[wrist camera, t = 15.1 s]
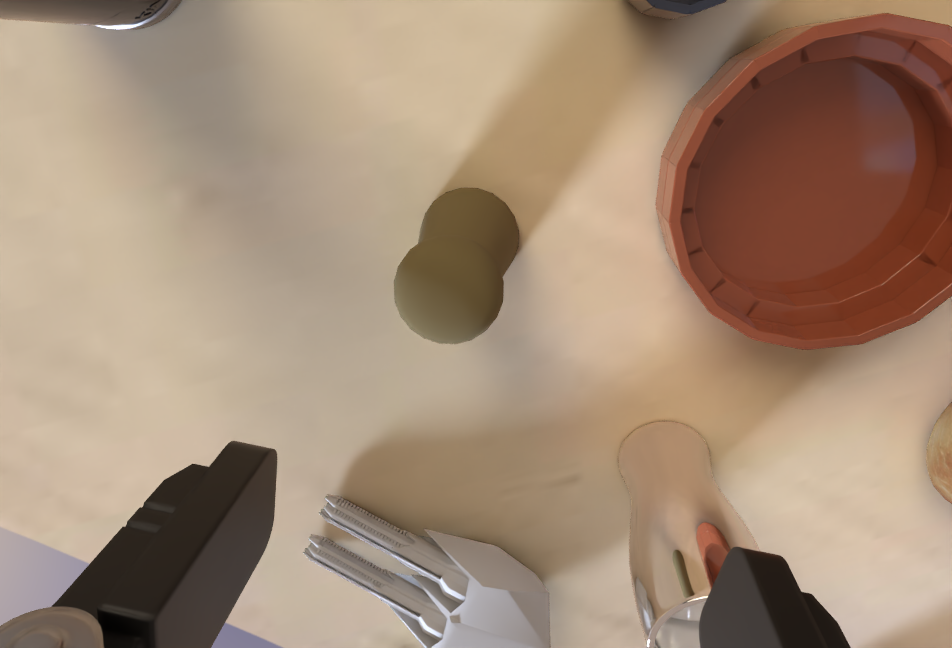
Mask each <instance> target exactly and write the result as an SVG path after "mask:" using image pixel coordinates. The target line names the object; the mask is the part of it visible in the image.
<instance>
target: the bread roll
mask: <svg viewBox="0 0 952 648" xmlns="http://www.w3.org/2000/svg"><path fill="white" fill-rule="evenodd" d="M926 462H927V469H928V473H929V476H930V479H931V481H932V483H933V485H934V487H935V488H936V489H937V490H938V492H939V493H940V494H941V495H942V496H943V497H944V498H945V499H946V500H947V501H949V502H950V503H952V402H951V403H950V404H949V406H948V407H947V408H946V409H945V411H944V412H943V413H942V414H941V416H940V417H939V419H938V420H937V422H936V424H935V425H934V428H933V431H932V434H931V436H930V439H929V442H928V446H927V460H926Z"/></svg>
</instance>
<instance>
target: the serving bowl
mask: <svg viewBox="0 0 952 648" xmlns="http://www.w3.org/2000/svg"><path fill="white" fill-rule="evenodd" d="M656 210H657V214H658V218H659V222H660V226H661V230H662V234H663V238H664V242H665V246H666V250H667V252H668V254H669V256H670V257H671V259H672V261H673V262H674V264H675V265H676V267H677V268H678V270H679V272H680V273H681V275H682V276H683V277H684V279H685V280H686V281H687V283H688V284H689V286H690V287H691V288H692V290H693V291H694V292H695V294H696V295H697V296H698V298H699V299H700V300H701V302H702V303H703V305H704V306H705V307H706V309H707V310H708V311H709V312H710V313H711V314H712V315H713V316H715V317H717V318H718V319H720V320H722V321H723V322H725V323H727V324H728V325H730V326H731V327H733V328H735V329H736V330H738V331H740V332H741V333H743V334H744V335H746V336H748V337H749V338H751V339H754V340H758V341H763V342H768V343H773V344H777V345H782V346H787V347H792V348H797V349H802V350H810V349H819V348H829V347H839V346H849V345H858V344H863V343H866V342H868V341H871V340H873V339H876V338H878V337H881V336H883V335H886V334H888V333H891V332H893V331H896V330H898V329H901V328H903V327H906V326H909V325H911V324H914V323H916V322H917V321H919V320H920V319H922V318H923V317H924V316H926V315H927V314H928V313H930V312H931V311H932V310H934V309H935V308H936V307H938V306H939V305H940V304H942V303H943V302H944V301H946V300H947V299H948V298H950V297H951V296H952V27H951V26H949V25H945V24H940V23H935V22H930V21H925V20H919V19H914V18H909V17H904V16H899V15H894V14H889V13H881V14H873V15H865V16H857V17H848V18H841V19H836V20H830V21H824V22H819V23H813V24H808V25H802V26H796V27H791V28H786V29H783V30H781V31H779V32H777V33H775V34H774V35H772V36H770V37H768V38H766V39H765V40H763V41H761V42H759V43H757V44H755V45H754V46H752V47H750V48H748V49H746V50H745V51H743V52H741V53H739V54H737V55H736V56H734V57H732V58H730V59H729V60H728V61H727V62H726V63H725V64H724V65H723V66H722V67H721V68H720V69H719V70H718V71H717V72H716V73H715V74H714V75H713V76H712V77H711V79H710V80H709V81H708V82H707V83H706V84H705V85H704V86H703V87H702V88H701V89H700V90H699V91H698V92H697V93H696V94H695V95H694V96H693V97H692V98H691V99H690V100H689V102H688V103H687V105H686V106H685V108H684V110H683V112H682V114H681V116H680V118H679V120H678V122H677V124H676V127H675V129H674V131H673V133H672V135H671V137H670V139H669V141H668V143H667V145H666V147H665V149H664V151H663V155H662V156H661V165H660V173H659V181H658V189H657V197H656Z"/></svg>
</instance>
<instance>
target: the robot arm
mask: <svg viewBox="0 0 952 648" xmlns="http://www.w3.org/2000/svg"><path fill="white" fill-rule="evenodd" d="M181 1H182V0H0V19H5V20H20V21H35V22H51V23H66V24H79V25H96V26H99V27H104V28H110V29H125V30H132V29H141V28H145V27H149V26H152V25H154V24H156V23H158V22H160V21H162V20H163V19H165V18H166V17H167V16H169V15H170V14H171V13H172V12H173V11H174V10H175V9H176V8H177V6H178V5H179V4H180V3H181ZM276 474H277V452H276V450H275V449H271V448H266V447H261V446H256V445H251V444H247V443H242V442H237V441H231V442H230V443H228V444H227V446H226V447H225V448H224V449H223V450H222V452H221V453H220V454H219V455H218V457H217V458H216V459H215V460H214V462H213V463H212V464H211V465H210V467H206V466H201V465H197V464H191V465H190V466H188V467H186V468H185V469H183V470H181V471H179V472H178V473H176V474H174V475H172V476H171V477H169V478H167V479H165V480H164V481H163V482H162V483H161V484H160V485H159V487H158V488H157V489H156V490H155V491H154V492H153V493H152V494H151V496H150V497H149V498H148V499H147V500H146V501H145V502H144V505H143V507H142V508H139V509H138V510H137V511H136V512H135V514H134V515H133V516H132V517H131V518H130V519H129V520H128V522H127V525H126V527H122V528H121V529H120V531H119V532H118V533H117V534H116V535H115V536H114V537H113V538H112V540H111V541H110V542H109V543H108V544H107V545H106V546H105V548H104V549H103V550H102V551H101V552H100V553H99V554H98V555H97V557H96V558H95V559H94V560H93V561H92V562H91V563H90V564H89V566H88V567H87V568H86V569H85V570H84V571H83V572H82V573H81V575H80V576H79V577H78V578H77V579H76V580H75V581H74V583H73V584H72V585H71V586H70V587H69V588H68V589H67V590H66V592H65V593H64V594H63V595H62V596H61V597H60V598H59V600H58V601H57V602H56V603H55V604H54V605H53V606H52V607H49V608H43V609H38V610H35V611H31V612H28V613H25V614H23V615H20V616H18V617H16V618H13V619H12V620H10V621H8V622H6V623H4V624H3V625H1V626H0V648H211V647H212V645H213V643H214V641H215V639H216V637H217V636H218V634H219V632H220V630H221V629H222V627H223V625H224V623H225V621H226V620H227V618H228V616H229V614H230V612H231V611H232V609H233V607H234V605H235V603H236V602H237V600H238V598H239V596H240V594H241V593H242V591H243V589H244V587H245V585H246V584H247V582H248V580H249V578H250V576H251V575H252V573H253V571H254V569H255V567H256V566H257V564H258V562H259V560H260V558H261V557H262V555H263V553H264V551H265V549H266V546H267V544H268V541H269V538H270V534H271V531H272V527H273V521H274V510H275V492H276ZM699 641H700V647H701V648H850V646H849V644H848V642H847V640H846V638H845V636H844V634H843V632H842V630H841V628H840V627H839V625H838V623H837V622H836V621H835V619H834V618H833V617H832V616H831V615H830V614H829V613H828V612H827V611H826V609H825V608H824V607H823V606H822V605H821V604H820V603H819V602H818V601H817V600H816V598H815V597H814V596H813V595H812V594H809V593H804V592H801V591H800V588H799V586H798V584H797V582H796V580H795V578H794V576H793V574H792V572H791V570H790V568H789V566H788V564H787V562H786V561H785V559H784V558H783V557H781V556H779V555H775V554H770V553H766V552H761V551H756V550H751V549H746V548H741V547H733V548H732V549H731V550H730V551H729V552H728V554H727V556H726V558H725V560H724V562H723V565H722V567H721V569H720V571H719V573H718V576H717V578H716V580H715V582H714V584H713V587H712V589H711V591H710V593H709V595H708V597H707V600H706V602H705V604H704V606H703V609H702V612H701V616H700V622H699Z"/></svg>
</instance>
